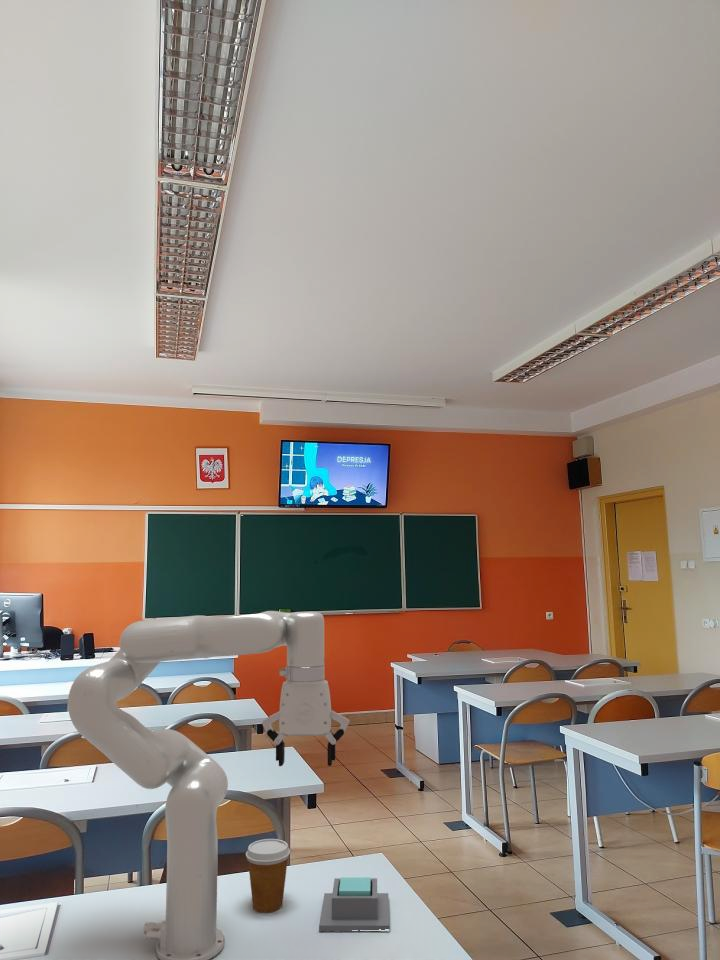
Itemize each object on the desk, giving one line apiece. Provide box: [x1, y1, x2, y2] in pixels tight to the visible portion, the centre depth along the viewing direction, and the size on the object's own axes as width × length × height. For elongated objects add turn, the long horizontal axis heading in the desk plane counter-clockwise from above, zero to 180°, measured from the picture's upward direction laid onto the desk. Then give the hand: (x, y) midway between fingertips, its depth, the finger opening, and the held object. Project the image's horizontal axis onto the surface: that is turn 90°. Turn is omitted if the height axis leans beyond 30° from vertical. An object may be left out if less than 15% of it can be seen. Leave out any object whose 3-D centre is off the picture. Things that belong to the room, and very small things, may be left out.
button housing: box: [318, 877, 391, 933], centre depth 142 cm, size 14×14×5 cm
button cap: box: [339, 877, 371, 896], centre depth 142 cm, size 6×6×4 cm
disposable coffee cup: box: [245, 838, 291, 914], centre depth 147 cm, size 10×10×12 cm
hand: (305, 764), depth 134 cm, fingers open, 9 cm apart
